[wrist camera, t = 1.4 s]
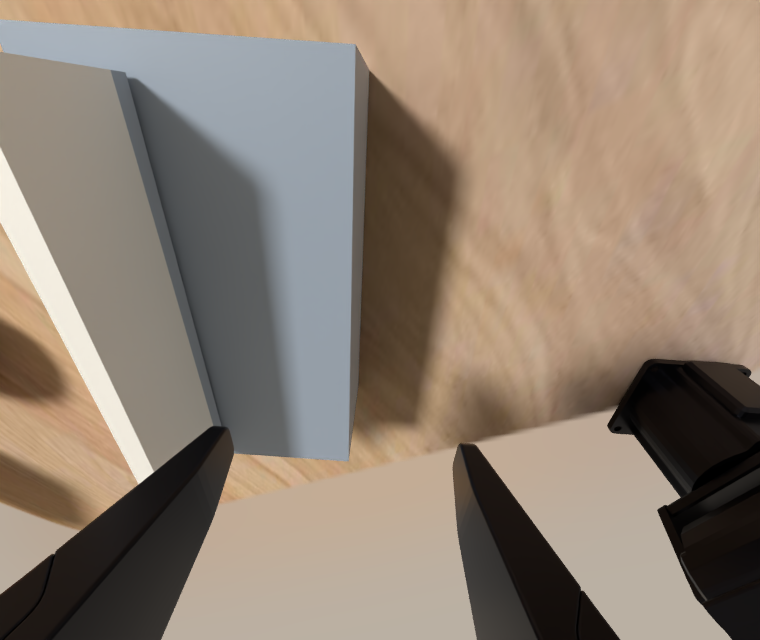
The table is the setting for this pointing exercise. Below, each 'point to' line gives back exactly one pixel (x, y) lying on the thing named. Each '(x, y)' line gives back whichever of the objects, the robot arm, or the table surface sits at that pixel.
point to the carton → (252, 212)
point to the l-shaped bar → (102, 251)
